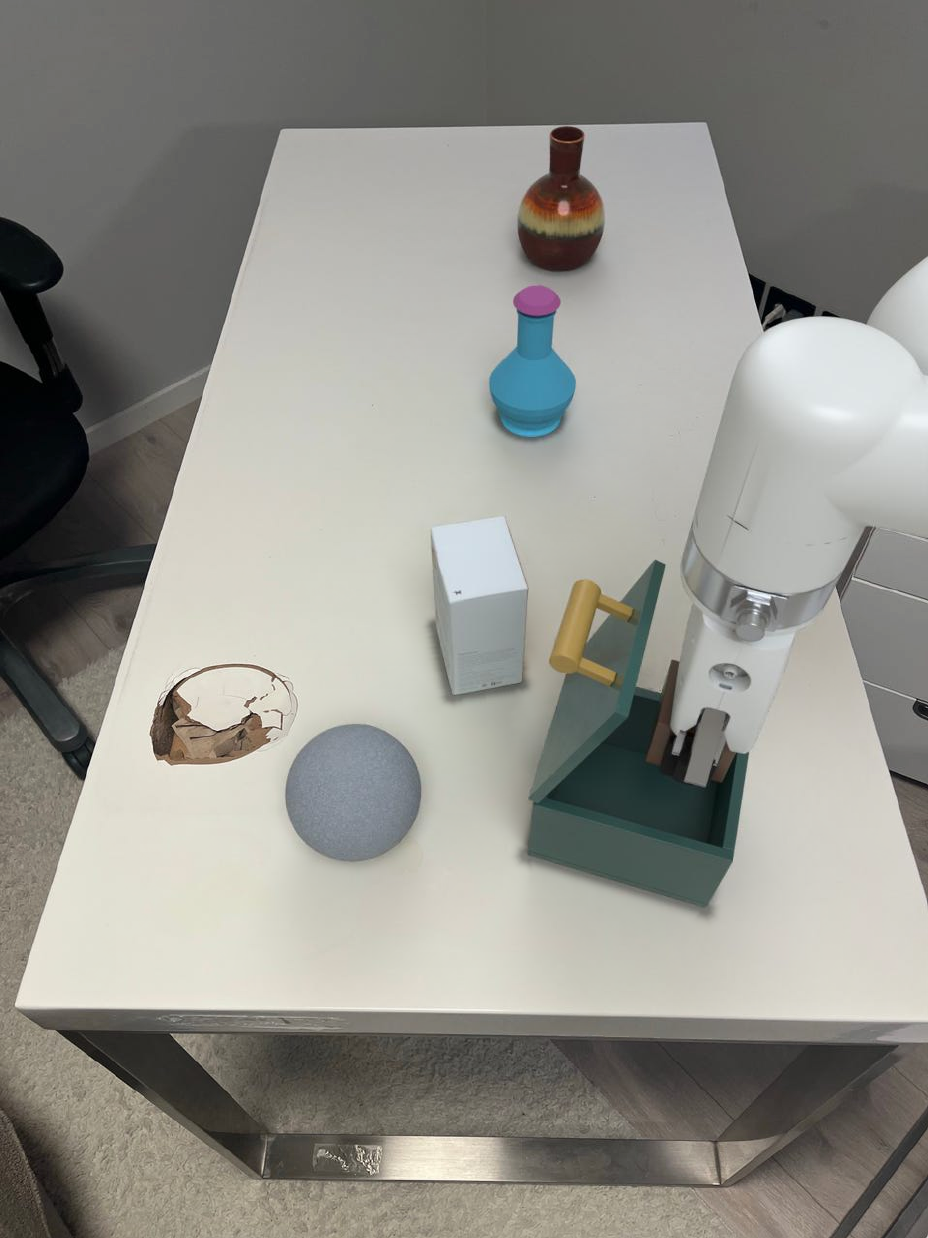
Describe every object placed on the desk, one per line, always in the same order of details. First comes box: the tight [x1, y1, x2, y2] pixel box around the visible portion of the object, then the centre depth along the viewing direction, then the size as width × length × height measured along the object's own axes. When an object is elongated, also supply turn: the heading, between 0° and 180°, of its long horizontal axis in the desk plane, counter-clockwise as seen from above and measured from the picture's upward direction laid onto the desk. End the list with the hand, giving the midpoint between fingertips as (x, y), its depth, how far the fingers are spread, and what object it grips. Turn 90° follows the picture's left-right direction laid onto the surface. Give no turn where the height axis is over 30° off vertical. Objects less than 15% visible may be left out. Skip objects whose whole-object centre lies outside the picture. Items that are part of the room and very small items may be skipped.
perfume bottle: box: [488, 285, 577, 438], centre depth 93 cm, size 9×9×15 cm
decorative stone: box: [284, 723, 422, 863], centre depth 67 cm, size 10×10×10 cm
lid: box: [528, 559, 667, 803], centre depth 59 cm, size 14×12×5 cm
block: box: [645, 659, 736, 782], centre depth 58 cm, size 5×5×5 cm
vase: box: [516, 125, 606, 272], centre depth 112 cm, size 11×11×15 cm
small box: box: [430, 515, 529, 696], centre depth 75 cm, size 8×6×13 cm
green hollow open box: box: [527, 686, 750, 909], centre depth 67 cm, size 14×12×9 cm
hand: (691, 737), depth 60 cm, fingers closed on block, 5 cm apart
